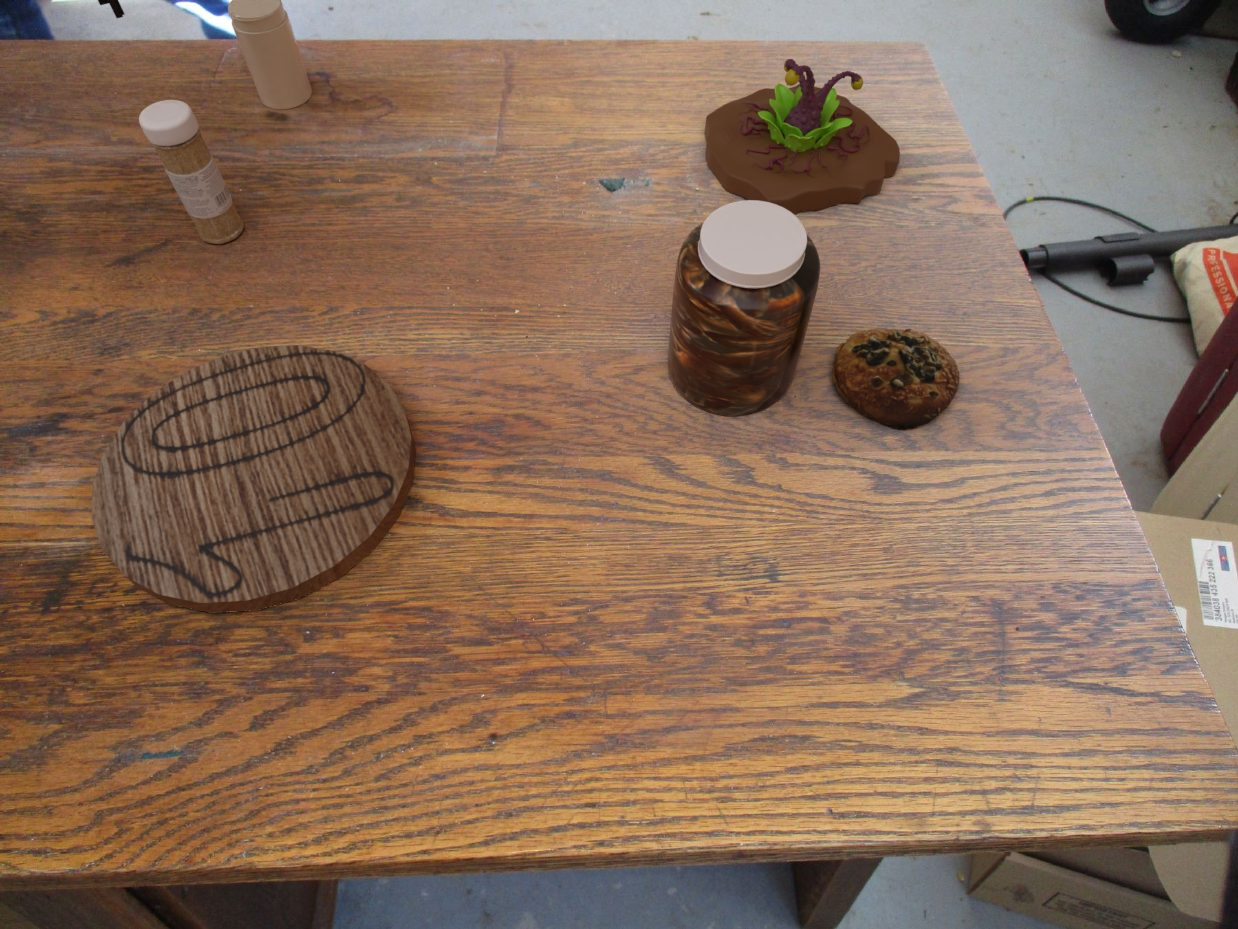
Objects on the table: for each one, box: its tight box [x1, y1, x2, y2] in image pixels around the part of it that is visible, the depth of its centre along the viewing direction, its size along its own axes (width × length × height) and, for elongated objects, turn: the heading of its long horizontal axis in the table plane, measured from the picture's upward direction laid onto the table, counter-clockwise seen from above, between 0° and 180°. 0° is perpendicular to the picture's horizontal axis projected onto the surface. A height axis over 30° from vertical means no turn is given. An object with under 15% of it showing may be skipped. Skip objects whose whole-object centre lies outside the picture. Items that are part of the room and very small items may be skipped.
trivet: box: [91, 344, 417, 613], centre depth 68 cm, size 25×25×2 cm
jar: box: [667, 199, 821, 417], centre depth 69 cm, size 12×12×15 cm
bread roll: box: [831, 327, 961, 431], centre depth 73 cm, size 11×11×5 cm
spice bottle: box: [138, 99, 245, 245], centre depth 80 cm, size 5×5×13 cm
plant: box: [704, 58, 901, 215], centre depth 88 cm, size 20×20×11 cm
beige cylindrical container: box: [227, 0, 313, 110], centre depth 94 cm, size 6×6×11 cm
